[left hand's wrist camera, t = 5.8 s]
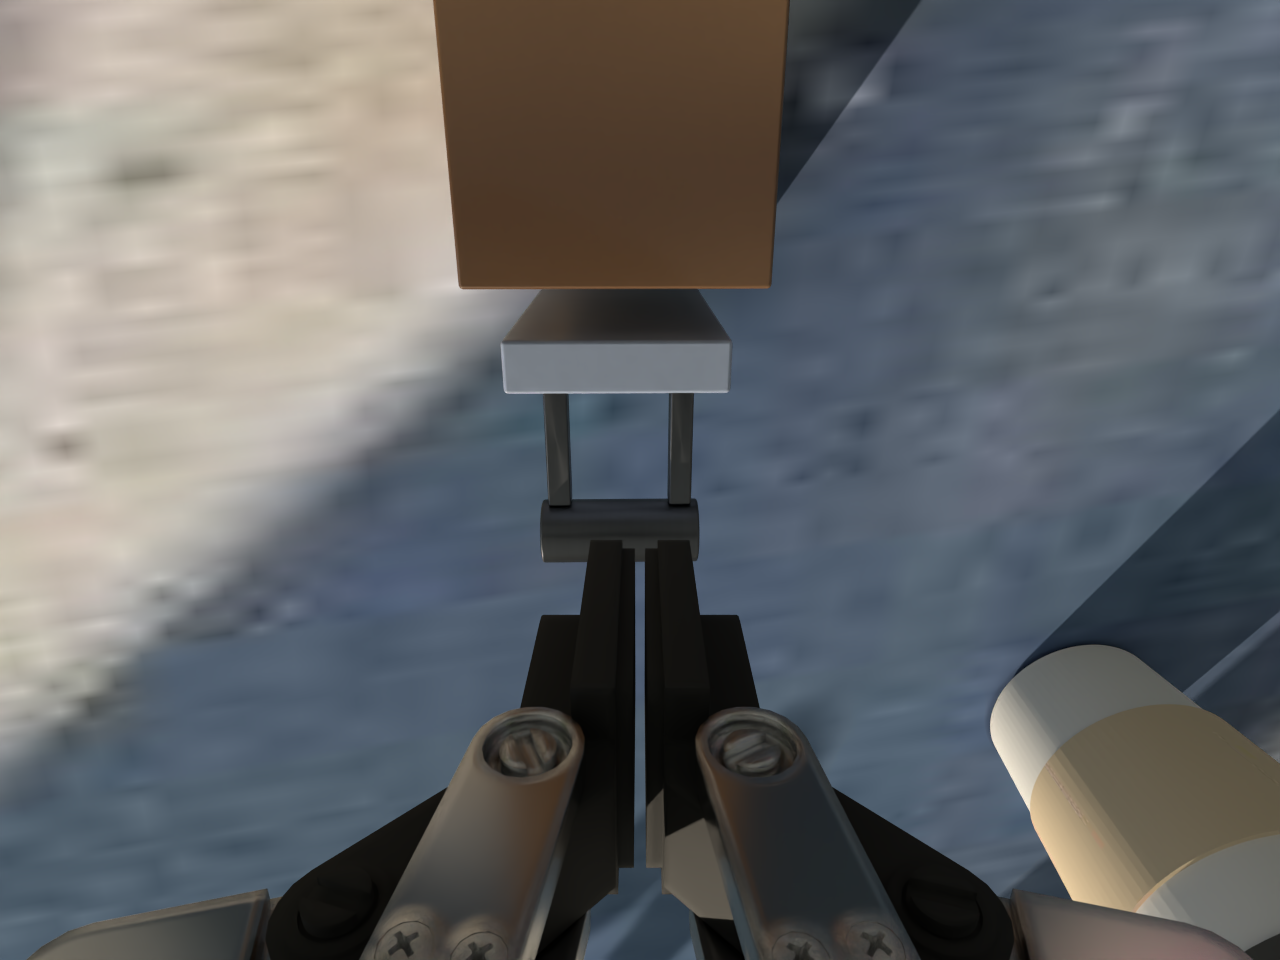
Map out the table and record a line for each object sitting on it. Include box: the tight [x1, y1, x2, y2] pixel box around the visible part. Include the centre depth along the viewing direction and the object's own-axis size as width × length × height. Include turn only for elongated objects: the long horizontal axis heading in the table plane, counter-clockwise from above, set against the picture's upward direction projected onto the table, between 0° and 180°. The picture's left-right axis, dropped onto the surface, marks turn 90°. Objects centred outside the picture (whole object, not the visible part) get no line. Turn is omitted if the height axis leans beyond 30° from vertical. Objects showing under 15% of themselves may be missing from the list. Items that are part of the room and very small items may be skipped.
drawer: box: [501, 289, 732, 562], centre depth 18 cm, size 25×5×8 cm, turn 0°
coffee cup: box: [990, 645, 1280, 960], centre depth 24 cm, size 9×9×15 cm
